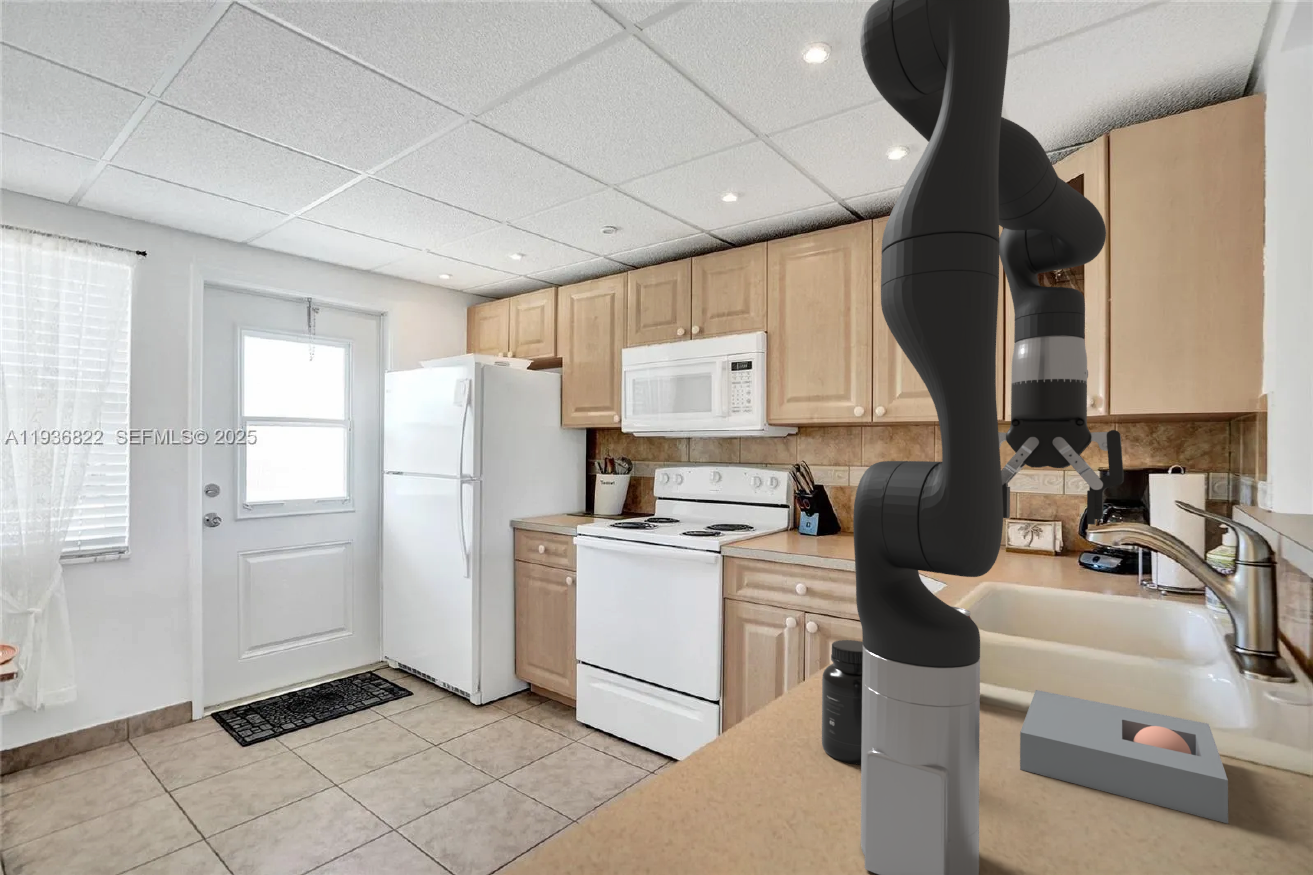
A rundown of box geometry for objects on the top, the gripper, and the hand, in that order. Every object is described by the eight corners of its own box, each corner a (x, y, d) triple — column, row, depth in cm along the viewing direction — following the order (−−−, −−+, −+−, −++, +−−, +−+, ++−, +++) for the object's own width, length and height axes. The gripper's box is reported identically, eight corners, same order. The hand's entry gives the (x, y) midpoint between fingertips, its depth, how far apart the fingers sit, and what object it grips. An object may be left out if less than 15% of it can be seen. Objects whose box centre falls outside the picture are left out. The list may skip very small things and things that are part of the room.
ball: (1157, 725, 68) (1122, 755, 70) (1207, 765, 65) (1169, 795, 67) (1154, 710, 72) (1121, 739, 74) (1201, 747, 70) (1165, 776, 71)
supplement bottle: (809, 742, 76) (811, 639, 76) (858, 735, 78) (859, 635, 78) (845, 770, 69) (846, 657, 70) (897, 760, 72) (898, 651, 72)
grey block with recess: (1228, 823, 60) (1227, 780, 60) (1020, 769, 70) (1020, 732, 70) (1209, 759, 73) (1208, 723, 73) (1035, 721, 83) (1035, 689, 83)
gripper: (974, 379, 76) (972, 517, 76) (1123, 372, 68) (1122, 528, 67) (986, 387, 82) (984, 515, 82) (1124, 381, 74) (1124, 524, 73)
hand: (1046, 520), depth 74 cm, fingers open, 8 cm apart
